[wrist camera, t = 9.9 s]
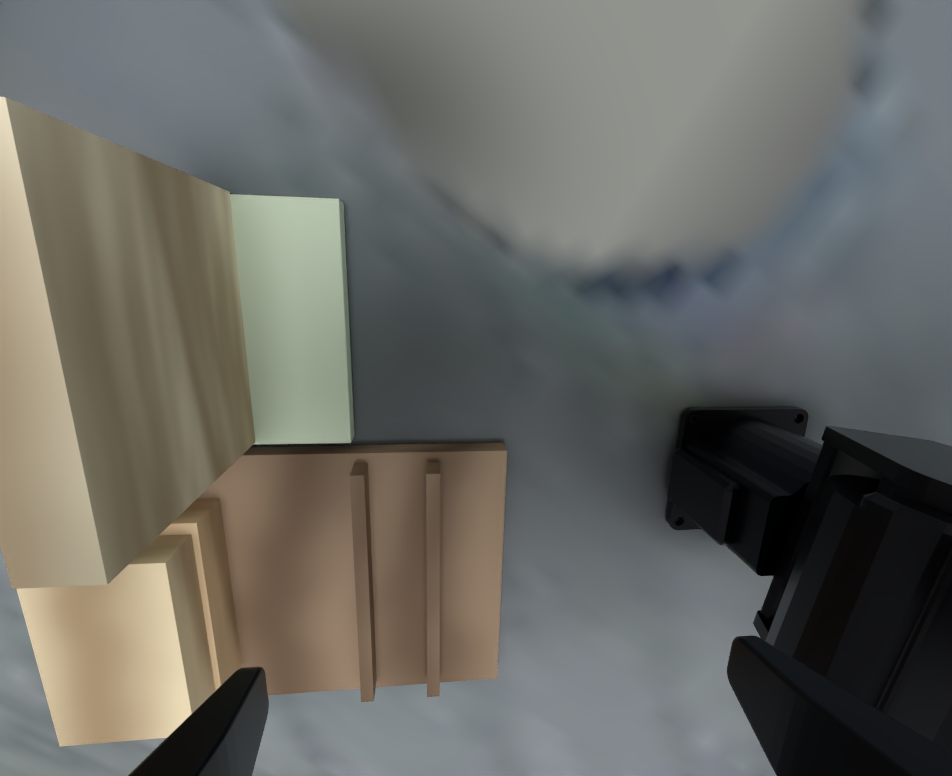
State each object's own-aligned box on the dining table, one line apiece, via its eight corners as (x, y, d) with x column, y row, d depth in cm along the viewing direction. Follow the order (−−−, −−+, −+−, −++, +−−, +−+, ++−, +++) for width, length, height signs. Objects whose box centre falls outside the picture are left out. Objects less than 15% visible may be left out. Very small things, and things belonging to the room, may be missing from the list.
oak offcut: (219, 498, 19) (196, 522, 17) (241, 664, 22) (223, 702, 20) (83, 502, 19) (44, 527, 17) (120, 672, 21) (89, 712, 19)
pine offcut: (191, 534, 17) (165, 562, 16) (216, 694, 19) (195, 735, 18) (54, 539, 17) (11, 569, 15) (93, 703, 19) (59, 746, 17)
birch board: (229, 191, 16) (5, 97, 8) (255, 442, 19) (107, 584, 10) (172, 189, 16) (-125, 88, 7) (206, 443, 19) (12, 588, 10)
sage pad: (343, 202, 18) (338, 198, 17) (354, 435, 20) (350, 443, 19) (74, 191, 17) (53, 186, 16) (120, 438, 19) (104, 446, 18)
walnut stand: (503, 442, 21) (512, 461, 19) (494, 662, 24) (500, 699, 22) (48, 450, 19) (0, 472, 17) (103, 689, 22) (69, 733, 20)
